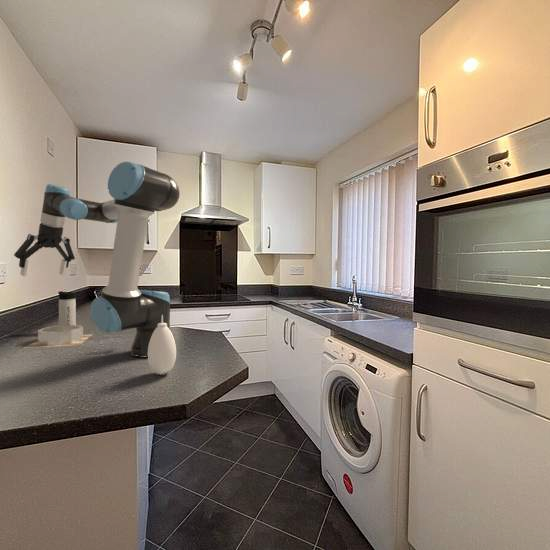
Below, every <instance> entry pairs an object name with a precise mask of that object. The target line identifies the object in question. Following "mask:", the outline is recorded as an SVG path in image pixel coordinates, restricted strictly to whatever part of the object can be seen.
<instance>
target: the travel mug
mask: <svg viewBox="0 0 550 550" xmlns="http://www.w3.org/2000/svg"><path fill="white" fill-rule="evenodd" d="M57 294H58V326H60V325H77V323H76V322H77V320H76V317H77V313H76V311H77V308H76V307H77V303H76V299H77V297H76V292H73V291H63V290H60V291H58V293H57Z"/></svg>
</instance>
